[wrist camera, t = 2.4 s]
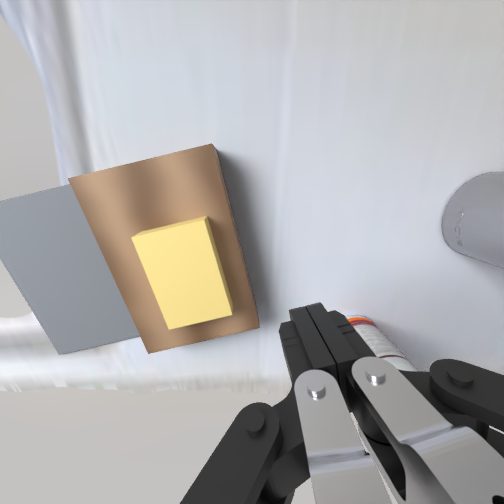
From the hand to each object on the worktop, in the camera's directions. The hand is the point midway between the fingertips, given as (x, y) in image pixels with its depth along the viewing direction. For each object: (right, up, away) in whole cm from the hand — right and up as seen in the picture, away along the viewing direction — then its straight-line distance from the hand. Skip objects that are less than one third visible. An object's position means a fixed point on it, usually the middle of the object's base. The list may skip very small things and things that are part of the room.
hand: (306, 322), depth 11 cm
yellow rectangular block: (-8, +2, +11) cm, 14 cm away
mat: (-22, +1, +15) cm, 26 cm away
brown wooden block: (-10, +4, +14) cm, 18 cm away
